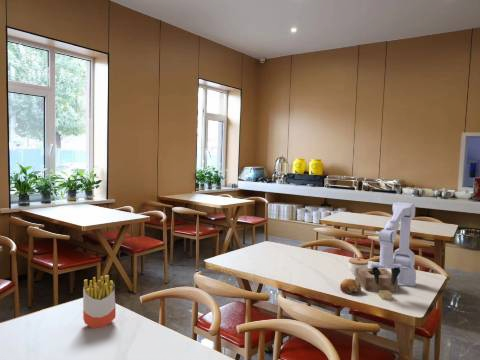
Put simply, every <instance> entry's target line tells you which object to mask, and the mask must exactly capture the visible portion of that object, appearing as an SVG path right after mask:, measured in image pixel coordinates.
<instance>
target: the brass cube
mask: <svg viewBox="0 0 480 360" xmlns="http://www.w3.org/2000/svg"><path fill="white" fill-rule="evenodd" d="M378 297H379V298H380V299H381V300H392V299H393V293H392V291H388V290H379V291H378Z"/></svg>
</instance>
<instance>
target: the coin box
mask: <svg viewBox="0 0 480 360" xmlns="http://www.w3.org/2000/svg"><path fill="white" fill-rule="evenodd" d="M378 269H379V271H380V273H379V283H378V284H377V283H375V277H374V274H373V271H372V269H371V268H370V267H368V268H356V274H355V275H354V277H355V278H354V280H356V281H358V282H359V284H360V285H361V288H363V290H365V291H377V292H379V290H388V291H389V292H398V285H397V284H398V278H396V281H395V284H392V283H391V277H392V273H391V272H390V271H388V269H387V268H378Z"/></svg>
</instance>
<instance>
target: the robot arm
mask: <svg viewBox="0 0 480 360" xmlns="http://www.w3.org/2000/svg"><path fill="white" fill-rule="evenodd" d="M415 216H416V205H415V203H412V202H411V203H410V202H409V203H408V202H398V201H395V202H393V204H392V217H391V219H389V220H387V222H386V224H385V226H384V228H383V229H380V231H379V234H378V240H379V246H380V248H379V249H380V250H379V262H373V263H372V262H371V263H369V268H371V269H372V271H373V274H374V277H375V283H377V284H378V283H379V273H380V271H379V269H389V270H390V271H391V272H390V273H391V274H392V277H391V283H392V284H395V281H396V278H398V284H397V286H401V287H404V286H408V287H410V286H411V287H416V286H417V284H416V280H417V271H416V268H415V264H416V263H415V262H416V257H415V252H413V251H412V250H411V249H410V240H411V239H410V238H411V237H410V235H411V222H412V219H414V218H415ZM398 231H399V244H398V245H399V247H398V248H397V249H395V250H394V243H395V241H396V238H397V232H398Z"/></svg>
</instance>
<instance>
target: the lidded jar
mask: <svg viewBox="0 0 480 360" xmlns="http://www.w3.org/2000/svg"><path fill="white" fill-rule="evenodd" d="M348 268H349V271H350V272H351V273H352V274H353V275H354V276H355V274H356V268H369V260H367V259H364V258H360V257H353V258H352V257H350V258H349V259H348Z"/></svg>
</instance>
